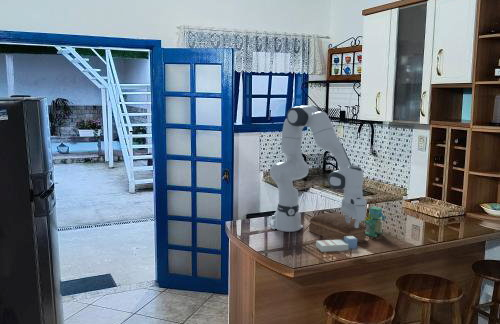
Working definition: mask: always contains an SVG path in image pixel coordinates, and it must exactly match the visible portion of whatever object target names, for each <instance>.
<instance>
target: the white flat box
mask: <svg viewBox="0 0 500 324" xmlns="http://www.w3.org/2000/svg"><path fill="white" fill-rule="evenodd" d="M315 247H316V248H317V250H319V251H320V252H321V253H323V252H325V253H326V252H327V253H328V252H340V251H341V252H343V251H349V249H348V244H347V243H346V242H345V241H343V240H342V239H339V240H332V239H325V240H324V239H323V240H322V239H321V240H315Z"/></svg>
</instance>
